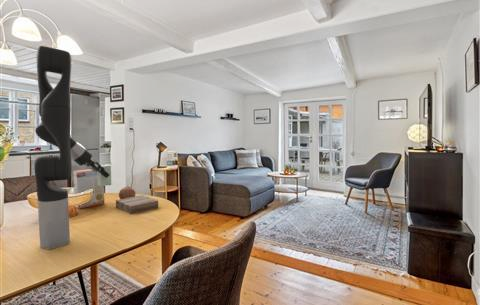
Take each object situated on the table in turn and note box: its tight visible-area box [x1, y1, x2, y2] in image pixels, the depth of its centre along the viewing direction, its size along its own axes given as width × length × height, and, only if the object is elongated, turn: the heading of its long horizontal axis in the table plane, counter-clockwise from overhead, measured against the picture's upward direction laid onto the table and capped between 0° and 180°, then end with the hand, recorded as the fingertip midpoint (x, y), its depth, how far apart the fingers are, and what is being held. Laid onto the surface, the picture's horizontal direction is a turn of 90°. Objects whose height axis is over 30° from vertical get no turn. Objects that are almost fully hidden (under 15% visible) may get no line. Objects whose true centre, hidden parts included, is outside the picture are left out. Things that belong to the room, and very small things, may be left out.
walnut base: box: [115, 194, 159, 215], centre depth 148 cm, size 18×16×4 cm
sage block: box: [97, 164, 112, 187], centre depth 134 cm, size 5×5×10 cm
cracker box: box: [72, 168, 106, 210], centre depth 150 cm, size 14×6×21 cm, turn 139°
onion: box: [118, 185, 136, 200], centre depth 161 cm, size 10×9×10 cm
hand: (105, 175), depth 135 cm, fingers closed on sage block, 5 cm apart
